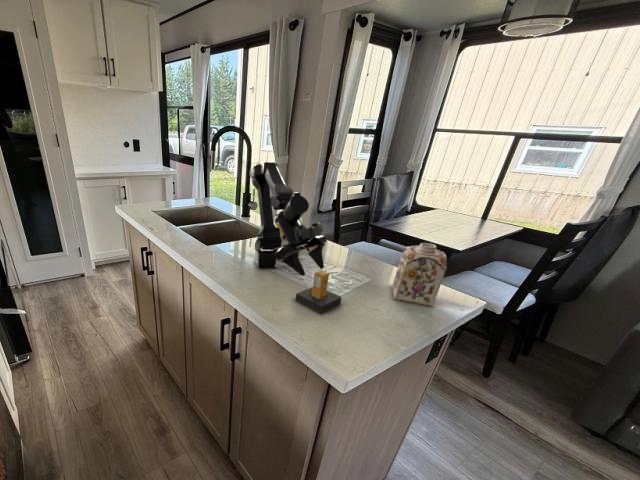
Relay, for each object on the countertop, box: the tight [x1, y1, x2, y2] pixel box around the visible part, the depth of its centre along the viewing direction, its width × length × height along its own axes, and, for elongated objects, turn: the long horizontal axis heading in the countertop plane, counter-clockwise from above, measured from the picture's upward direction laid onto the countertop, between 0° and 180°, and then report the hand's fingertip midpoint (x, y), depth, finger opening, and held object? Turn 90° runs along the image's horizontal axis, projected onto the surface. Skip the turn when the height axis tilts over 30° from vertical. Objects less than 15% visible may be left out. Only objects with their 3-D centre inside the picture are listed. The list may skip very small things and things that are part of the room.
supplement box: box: [312, 270, 330, 299], centre depth 101 cm, size 3×3×10 cm
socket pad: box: [294, 286, 342, 315], centre depth 102 cm, size 10×10×2 cm
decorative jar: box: [392, 242, 448, 307], centre depth 106 cm, size 12×12×18 cm
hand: (313, 271), depth 101 cm, fingers open, 9 cm apart
